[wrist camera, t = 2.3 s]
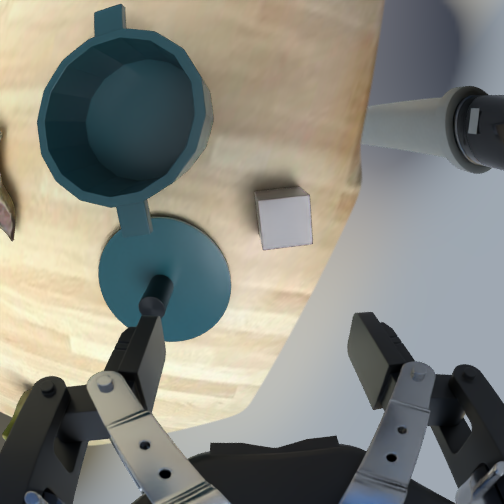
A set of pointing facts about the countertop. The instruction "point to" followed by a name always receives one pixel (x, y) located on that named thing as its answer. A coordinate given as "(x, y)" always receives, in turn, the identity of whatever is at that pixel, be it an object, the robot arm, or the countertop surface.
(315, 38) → the countertop surface
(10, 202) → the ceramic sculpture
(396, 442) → the robot arm
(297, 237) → the block
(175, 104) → the pot
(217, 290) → the lid
